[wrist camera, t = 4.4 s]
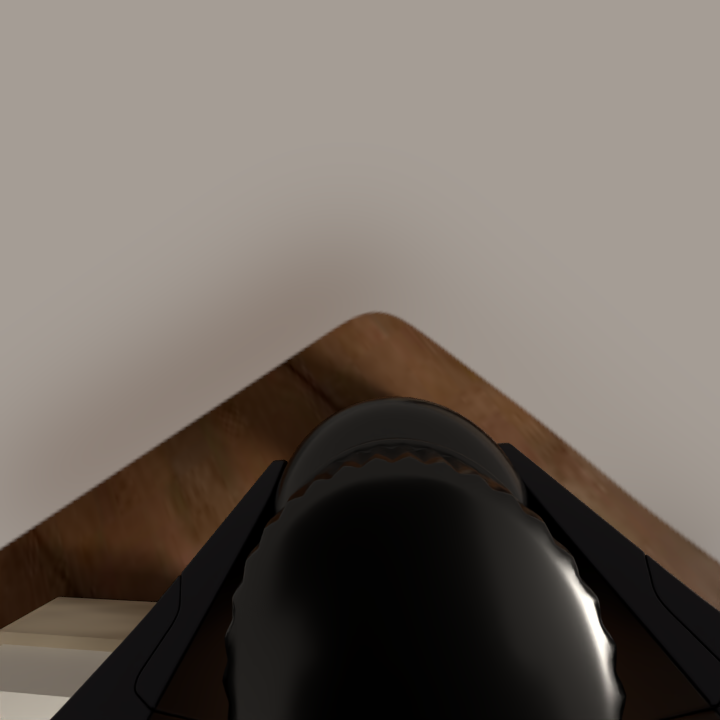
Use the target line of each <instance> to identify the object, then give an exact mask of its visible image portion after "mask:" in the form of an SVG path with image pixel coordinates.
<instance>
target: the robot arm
mask: <svg viewBox="0 0 720 720" xmlns="http://www.w3.org/2000/svg"><path fill="white" fill-rule="evenodd" d="M498 446H499V447H500V448H501V449H502V450H503V451H504V453H505V454H506V455H507V457H508V458H509V459H510V460H511V462H512V463H513V465H514V467H515V468H516V470H517V471H518V473H519V475H520V477H521V478H522V480H523V482H524V484H525V486H526V488H527V491H528V493H529V496H530V498H531V500H532V503H533V507H534V510H535V513H536V514H538V515H539V516H540V517H541V518H542V520H543V521H544V522H545V524H546V526H547V528H548V529H549V531H550V533H551V535H552V537H553V538H554V539H555V540H557V541H558V542H559V543H561V544H562V545H563V546H564V547H565V548H567V549H568V551H569V552H570V553H571V554H572V556H573V557H574V559H575V562H576V564H577V567H578V571H579V575H580V577H581V578H582V579H583V580H584V581H585V582H586V584H587V585H588V586H589V587H590V588H591V589H592V590H593V591H594V593H595V594H596V596H597V597H598V599H599V603H600V608H601V618H602V623H603V625H604V626H605V627H606V629H607V630H608V631H609V633H610V634H611V636H612V638H613V640H614V641H615V643H616V645H617V663H616V672H617V675H618V677H619V679H620V680H621V682H622V684H623V687H624V690H625V693H626V695H627V696H626V702H625V708H624V712H623V716H622V720H720V611H719V610H717V609H716V608H715V607H713V606H712V605H711V604H709V603H708V602H707V601H705V600H704V599H702V598H701V597H700V596H699V595H697V594H696V593H695V592H694V591H692V590H691V589H690V588H688V587H687V586H686V585H685V584H683V583H682V582H681V581H680V580H678V579H677V578H676V577H674V576H673V575H672V574H671V573H669V572H668V571H667V570H666V569H664V568H663V567H662V566H661V565H659V564H658V563H657V562H656V561H655V560H653V559H652V558H651V557H650V556H648V555H645V554H644V552H643V551H642V550H641V549H640V548H638V547H637V546H636V545H635V544H633V543H632V542H631V541H630V540H628V539H627V538H626V537H625V536H624V535H622V534H621V533H620V532H619V531H617V530H616V529H615V528H614V527H612V526H611V525H610V524H609V523H608V522H606V521H605V520H604V519H603V518H601V517H600V516H599V515H598V514H596V513H595V512H594V511H593V510H591V509H590V508H589V507H588V506H587V505H585V504H584V503H583V502H582V501H580V500H579V499H578V498H577V497H575V496H574V495H573V494H572V493H571V492H569V491H568V490H567V489H566V488H564V487H563V486H562V485H561V484H559V483H558V482H557V481H556V480H554V479H553V478H552V477H551V476H550V475H548V474H547V473H546V472H545V471H543V470H542V469H541V468H540V467H538V466H537V465H536V464H535V463H534V462H532V461H531V460H530V459H529V458H527V457H526V456H525V455H524V454H522V453H521V452H520V451H519V450H517V449H516V448H515V447H514V446H513V445H511V444H509V443H498ZM287 464H288V462H287V461H286V460H275V461H273V462H272V463H271V464H270V466H269V467H268V468H267V469H266V470H265V472H264V473H263V474H262V475H261V476H260V478H259V479H258V480H257V481H256V483H255V484H254V485H253V486H252V487H251V489H250V490H249V491H248V492H247V494H246V495H245V496H244V497H243V498H242V500H241V501H240V502H239V503H238V505H237V506H236V507H235V508H234V509H233V511H232V512H231V513H230V514H229V516H228V517H227V518H226V519H225V520H224V522H223V523H222V524H221V525H220V527H219V528H218V529H217V530H216V531H215V533H214V534H213V535H212V536H211V537H210V539H209V540H208V541H207V542H206V544H205V545H204V546H203V547H202V548H201V550H200V551H199V552H198V553H197V555H196V556H195V557H194V558H193V559H192V561H191V562H190V563H189V564H188V566H187V567H186V568H185V569H184V570H183V572H182V574H181V575H180V576H178V578H177V579H176V580H175V581H174V582H173V584H172V585H171V586H170V587H169V589H168V590H167V591H166V592H165V593H164V595H163V596H162V597H161V598H160V599H159V600H158V602H157V603H156V604H155V605H154V606H153V608H152V609H151V610H150V611H149V612H148V613H147V615H146V616H145V617H144V618H143V619H142V620H141V621H140V622H139V624H138V625H137V626H136V627H135V628H134V629H133V630H132V631H131V632H130V634H129V635H128V636H127V637H126V638H125V639H124V640H123V641H122V642H121V644H120V645H119V646H118V647H117V648H116V649H115V650H114V651H113V652H112V653H111V654H110V655H109V657H108V658H107V659H106V660H105V661H104V662H103V663H102V664H101V665H100V666H99V667H98V668H97V670H96V671H95V672H94V673H93V674H92V675H91V676H90V677H89V678H88V679H87V680H86V681H85V683H84V684H83V685H82V686H81V687H80V688H79V689H78V690H77V691H76V692H75V693H74V694H73V696H72V697H71V698H70V699H69V700H68V701H67V702H66V703H65V704H64V705H63V706H62V707H61V709H60V710H59V711H58V712H57V713H56V714H55V715H54V716H53V717H52V718H51V719H50V720H228V709H229V701H228V699H227V696H226V693H225V689H224V686H223V682H222V679H223V674H224V670H225V667H226V665H227V660H228V659H227V654H226V649H225V640H224V636H225V634H226V631H227V629H228V626H229V624H230V622H231V620H232V596H233V594H234V592H235V590H236V589H237V587H238V586H239V584H240V583H241V581H242V580H243V575H244V567H245V562H246V559H247V557H248V555H249V554H250V552H251V551H252V550H253V549H254V548H255V547H256V546H257V545H258V544H259V543H260V540H261V536H262V534H263V531H264V528H265V526H266V524H267V523H268V522H269V520H270V519H271V512H272V506H273V501H274V497H275V493H276V490H277V487H278V484H279V481H280V479H281V476H282V474H283V471H284V469H285V467H286V466H287Z"/></svg>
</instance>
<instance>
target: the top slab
mask: <svg viewBox="0 0 720 720" xmlns="http://www.w3.org/2000/svg"><path fill="white" fill-rule="evenodd" d="M111 653H112V652H106V651H92V650H78V649H64V648H51V647H37V646H23V645H9V644H3V645H1V646H0V720H50V719H51V718H52V717H53V716H54V715H55V714H56V713H57V712H58V711H59V710H60V709H61V707H62V706H63V705H64V704H65V703H66V702H67V701H68V700H69V699H70V698H71V697H72V696H73V694H74V693H75V692H76V691H77V690H78V689H79V688H80V687H81V686H82V685H83V684H84V683H85V681H86V680H87V679H88V678H89V677H90V676H91V675H92V674H93V673H94V672H95V671H96V670H97V668H98V667H99V666H100V665H101V664H102V663H103V662H104V661H105V660H106V659H107V658H108V657H109V655H110V654H111Z"/></svg>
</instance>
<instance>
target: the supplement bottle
mask: <svg viewBox="0 0 720 720" xmlns="http://www.w3.org/2000/svg"><path fill="white" fill-rule="evenodd" d="M224 640H225V649H226V654H227V659H228V660H227V665H226V667H225V670H224V674H223V679H222V682H223V686H224V689H225V693H226V696H227V699H228V701H229V709H228V720H622V716H623V712H624V708H625V702H626V696H627V695H626V693H625V690H624V687H623V684H622V682H621V680H620V679H619V677H618V675H617V672H616V663H617V645H616V643H615V641H614V640H613V638H612V636H611V634H610V633H609V631H608V630H607V629H606V627H605V626H604V625H603V623H602V618H601V608H600V603H599V599H598V597H597V596H596V594H595V593H594V591H593V590H592V589H591V588H590V587H589V586H588V585H587V584H586V582H585V581H584V580H583V579H582V578H581V577H580V575H579V571H578V567H577V564H576V562H575V559H574V557H573V556H572V554H571V553H570V552H569V551H568V549H567V548H565V547H564V546H563V545H562V544H561V543H559V542H558V541H557V540H555V539H554V538H553V537H552V535H551V533H550V531H549V529H548V528H547V526H546V524H545V522H544V521H543V520H542V518H541V517H540V516H539V515H538V514H536V513H535V510H534V507H533V503H532V500H531V498H530V496H529V493H528V491H527V488H526V486H525V484H524V482H523V480H522V478H521V477H520V475H519V473H518V471H517V470H516V468H515V467H514V465H513V463H512V462H511V460H510V459H509V458H508V457H507V455H506V454H505V453H504V451H503V450H502V449H501V448H500V447H499V446H498V444H497V443H496V442H495V441H494V440H493V439H492V438H491V437H490V436H489V435H488V434H487V433H485V432H484V431H483V430H482V429H481V428H480V427H478V426H477V425H476V424H474V423H473V422H472V421H470V420H469V419H467V418H465V417H464V416H462V415H461V414H459V413H457V412H455V411H453V410H451V409H449V408H447V407H444V406H442V405H439V404H436V403H433V402H430V401H426V400H422V399H417V398H411V397H380V398H374V399H369V400H365V401H362V402H359V403H355V404H353V405H350V406H348V407H346V408H343V409H341V410H340V411H338V412H336V413H334V414H333V415H331V416H330V417H328V418H327V419H325V420H324V421H322V422H321V423H320V424H319V425H318V426H317V427H315V428H314V429H313V430H312V431H311V432H310V433H309V434H308V435H307V436H306V437H305V439H304V440H303V441H302V442H301V444H300V445H299V446H298V447H297V449H296V450H295V452H294V453H293V455H292V456H291V458H290V460H289V462H288V464H287V466H286V467H285V469H284V471H283V474H282V476H281V479H280V481H279V484H278V487H277V490H276V493H275V497H274V501H273V506H272V512H271V519H270V520H269V522H268V523H267V524H266V526H265V528H264V531H263V534H262V536H261V540H260V543H259V544H258V545H257V546H256V547H255V548H254V549H253V550H252V551H251V552H250V554H249V555H248V557H247V559H246V562H245V567H244V575H243V580H242V581H241V583H240V584H239V586H238V587H237V589H236V590H235V592H234V594H233V596H232V620H231V622H230V624H229V626H228V629H227V631H226V634H225V636H224Z"/></svg>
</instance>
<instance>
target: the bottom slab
mask: <svg viewBox="0 0 720 720" xmlns="http://www.w3.org/2000/svg"><path fill="white" fill-rule="evenodd" d="M156 603H157V602H144V601H125V600H106V599H88V598H69V597H57V598H56V599H54V600H52V601H50V602H48V603H47V604H45V605H43V606H41V607H40V608H38V609H36V610H34V611H32V612H31V613H29V614H27V615H25V616H23V617H22V618H20V619H18V620H16V621H15V622H13V623H11V624H9V625H7V626H6V627H4V628H2V629H0V646H1V645H3V644H9V645H23V646H37V647H51V648H64V649H78V650H92V651H106V652H113V651H114V650H115V649H116V648H117V647H118V646H119V645H120V644H121V642H122V641H123V640H124V639H125V638H126V637H127V636H128V635H129V634H130V632H131V631H132V630H133V629H134V628H135V627H136V626H137V625H138V624H139V622H140V621H141V620H142V619H143V618H144V617H145V616H146V615H147V613H148V612H149V611H150V610H151V609H152V608H153V606H154V605H155V604H156Z"/></svg>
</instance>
